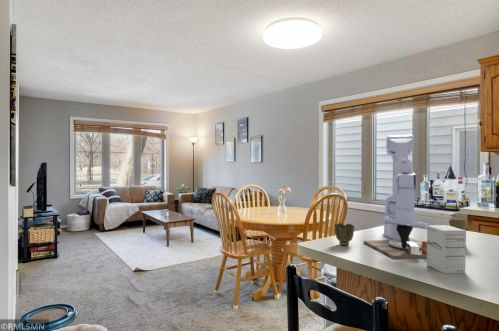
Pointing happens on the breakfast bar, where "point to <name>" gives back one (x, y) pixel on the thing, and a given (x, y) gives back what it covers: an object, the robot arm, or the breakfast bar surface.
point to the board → (396, 249)
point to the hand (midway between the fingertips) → (404, 247)
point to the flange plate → (411, 246)
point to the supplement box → (446, 248)
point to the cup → (344, 233)
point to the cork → (457, 223)
